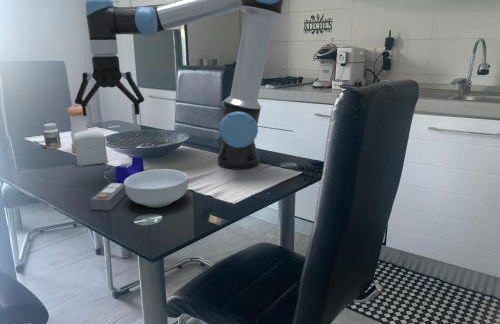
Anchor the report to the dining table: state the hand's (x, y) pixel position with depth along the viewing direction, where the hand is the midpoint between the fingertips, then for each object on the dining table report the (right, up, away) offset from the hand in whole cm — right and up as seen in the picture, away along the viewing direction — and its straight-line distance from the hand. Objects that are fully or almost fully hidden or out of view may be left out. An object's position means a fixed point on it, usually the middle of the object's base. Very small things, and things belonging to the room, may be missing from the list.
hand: (113, 125), depth 119 cm
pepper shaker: (-25, -7, +35) cm, 44 cm away
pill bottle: (-40, -5, +41) cm, 57 cm away
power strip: (+4, -22, -12) cm, 25 cm away
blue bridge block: (+4, -17, +4) cm, 18 cm away
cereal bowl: (+18, -23, -14) cm, 32 cm away
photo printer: (-14, -12, +19) cm, 27 cm away
